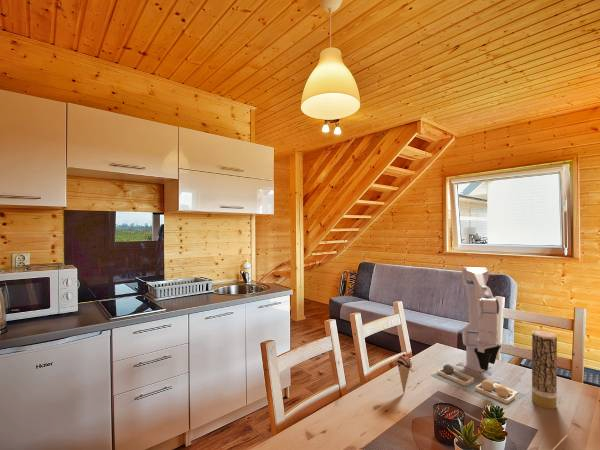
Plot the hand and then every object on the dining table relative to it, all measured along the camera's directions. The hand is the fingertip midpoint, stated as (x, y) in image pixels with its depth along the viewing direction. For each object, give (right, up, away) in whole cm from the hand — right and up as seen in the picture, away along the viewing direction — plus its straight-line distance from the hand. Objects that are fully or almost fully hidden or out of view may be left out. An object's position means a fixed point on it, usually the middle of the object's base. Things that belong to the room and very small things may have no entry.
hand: (487, 366), depth 117 cm
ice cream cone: (-32, -10, -1) cm, 33 cm away
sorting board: (-2, -10, +5) cm, 11 cm away
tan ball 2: (+3, -9, -4) cm, 11 cm away
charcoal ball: (-9, -9, +13) cm, 18 cm away
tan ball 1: (0, -9, 0) cm, 9 cm away
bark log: (+15, -10, -8) cm, 20 cm away
